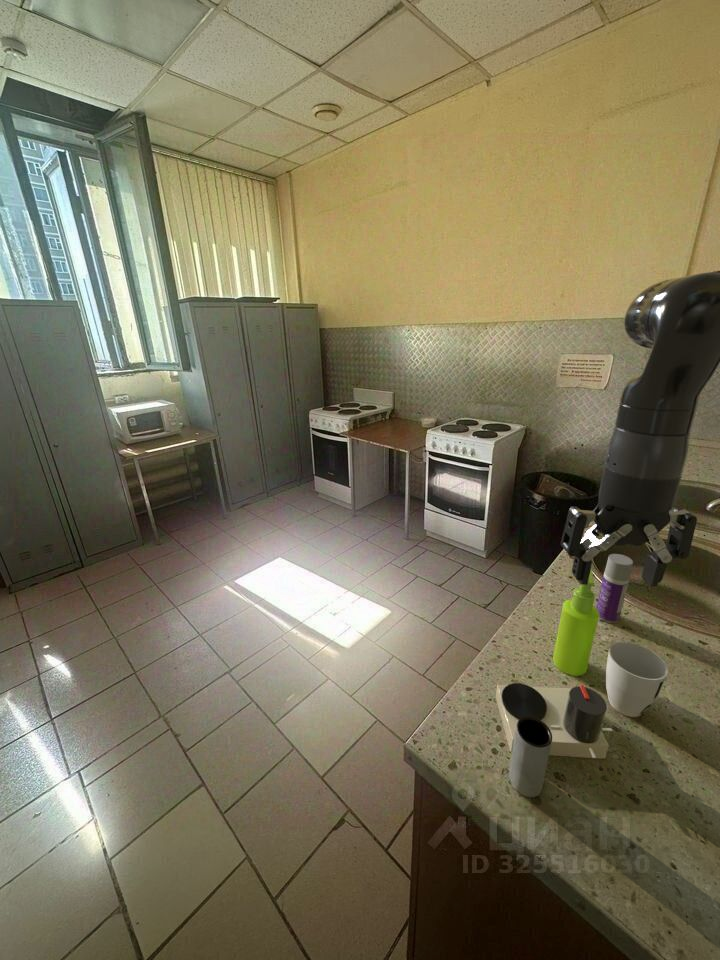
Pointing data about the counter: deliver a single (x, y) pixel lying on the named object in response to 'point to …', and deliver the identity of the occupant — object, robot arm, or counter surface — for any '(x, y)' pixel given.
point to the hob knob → (584, 714)
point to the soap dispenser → (576, 631)
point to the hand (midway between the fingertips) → (614, 582)
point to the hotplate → (523, 701)
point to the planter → (530, 756)
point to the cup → (633, 677)
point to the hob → (554, 726)
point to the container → (614, 587)
